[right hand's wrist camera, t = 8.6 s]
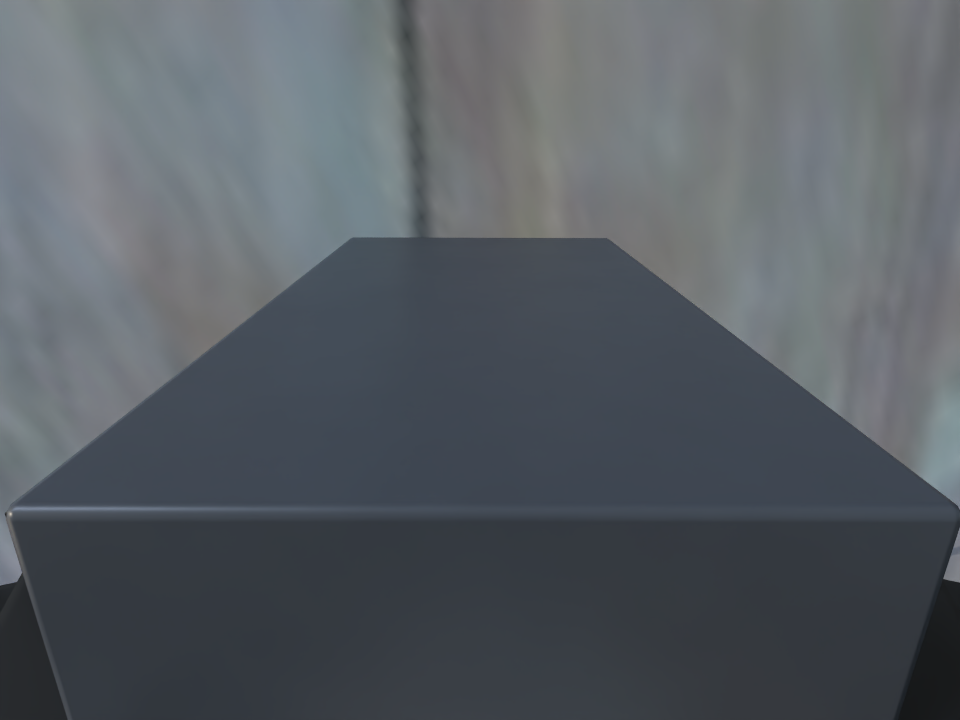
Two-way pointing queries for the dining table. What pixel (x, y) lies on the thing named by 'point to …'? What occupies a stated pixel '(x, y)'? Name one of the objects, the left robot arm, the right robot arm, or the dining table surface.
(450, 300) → the box
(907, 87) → the dining table surface
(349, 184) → the dining table surface
